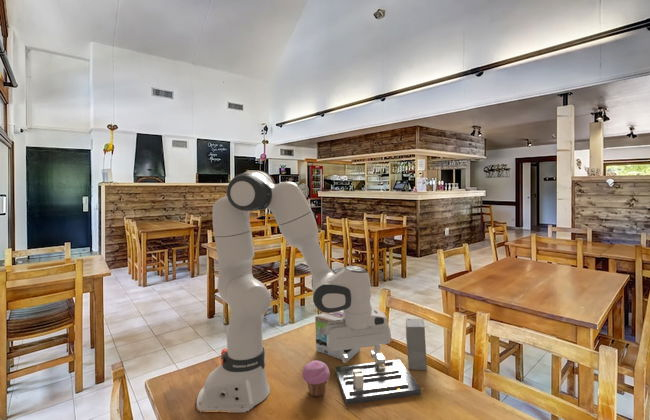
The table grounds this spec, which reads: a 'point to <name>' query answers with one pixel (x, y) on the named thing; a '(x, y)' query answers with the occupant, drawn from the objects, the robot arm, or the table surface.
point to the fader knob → (358, 379)
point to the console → (377, 381)
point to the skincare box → (416, 344)
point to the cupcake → (316, 377)
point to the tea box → (322, 336)
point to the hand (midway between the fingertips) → (359, 359)
